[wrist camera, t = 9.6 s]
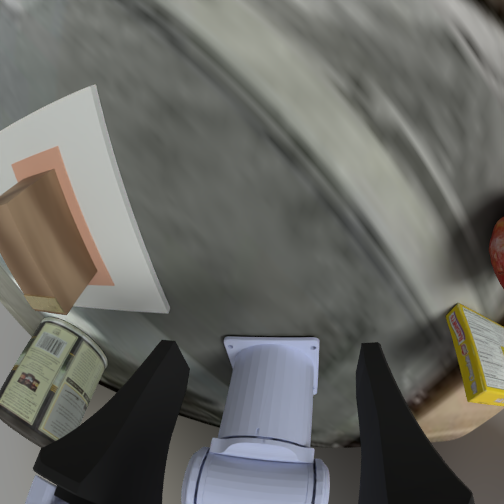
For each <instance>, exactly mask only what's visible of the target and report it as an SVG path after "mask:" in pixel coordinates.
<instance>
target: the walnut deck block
mask: <svg viewBox="0 0 504 504" xmlns="http://www.w3.org/2000/svg"><path fill="white" fill-rule="evenodd" d="M0 253H1V255H2V257H3V259H4V261H5V263H6V264H7V266H8V268H9V270H10V271H11V273H12V275H13V276H14V278H15V280H16V282H17V283H18V285H19V286H20V288H21V290H22V291H23V293H24V296H25V298H26V299H27V301H28V302H29V304H30V306H31V307H32V308H33V309H34V310H35V311H42V312H48V313H55V314H62V315H67V314H68V312H69V311H70V309H71V308H72V307H73V305H74V304H75V302H76V301H77V299H78V298H79V296H80V295H81V294H82V292H83V291H84V289H85V288H86V287H87V285H88V284H89V282H90V281H91V280H92V278H93V277H94V275H95V274H96V273H97V269H96V267H95V265H94V263H93V261H92V258H91V256H90V254H89V252H88V250H87V248H86V246H85V244H84V241H83V239H82V237H81V235H80V232H79V230H78V228H77V225H76V223H75V221H74V218H73V216H72V214H71V211H70V209H69V206H68V204H67V201H66V199H65V196H64V194H63V191H62V188H61V186H60V183H59V180H58V177H57V175H56V172H55V169H51V170H48V171H45V172H42V173H39V174H36V175H33V176H30V177H27V178H24V179H22V180H21V181H20V182H18V183H17V184H15V185H14V186H13V187H11V188H10V189H9V190H7V191H6V192H4V193H3V194H2V195H1V196H0Z"/></svg>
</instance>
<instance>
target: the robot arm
mask: <svg viewBox="0 0 504 504" xmlns="http://www.w3.org/2000/svg"><path fill="white" fill-rule="evenodd" d="M224 345H225V348H226V351H227V354H228V357H229V359H230V362H231V365H232V368H233V372H232V377H231V381H230V386H229V390H228V395H227V399H226V404H225V408H224V413H223V417H222V421H221V426H220V431H219V435H218V438H212V441H211V446H210V448H209V447H202V448H201V449H200V450H199V451H197V452H195V453H194V454H193V456H192V457H191V459H190V461H189V463H188V466H187V469H186V472H185V476H184V480H183V485H182V494H181V503H182V504H328V499H329V489H330V480H329V479H330V478H329V470H328V467H327V466H326V465H325V464H324V463H323V461H322V460H321V459H314V448H310V441H311V425H312V406H313V395H315V394H317V386H318V364H319V339H318V338H315V337H234V336H227V337H225V338H224ZM189 371H190V368H189V367H188V365H187V363H186V361H185V359H184V357H183V355H182V353H181V351H180V350H179V348H178V346H177V344H176V342H175V341H169V340H161V342H160V343H159V344H158V345H157V346H156V348H155V349H154V350H153V351H152V352H151V354H150V355H149V356H148V357H147V359H146V360H145V361H144V362H143V363H142V365H141V366H140V367H139V368H138V369H137V371H136V372H135V373H134V374H133V375H132V377H131V378H130V379H129V380H128V381H127V382H126V383H125V385H124V386H123V387H122V388H121V389H120V390H119V391H118V392H117V393H116V394H115V396H113V397H112V398H111V399H110V400H109V401H108V402H107V403H106V404H105V405H104V406H103V407H102V408H101V409H100V410H99V411H97V412H96V413H95V414H94V415H93V416H91V417H90V418H89V419H88V420H86V421H85V422H84V423H83V424H81V425H80V426H79V427H77V428H76V429H74V430H73V431H71V432H70V433H68V434H67V435H65V436H63V437H62V438H60V439H58V440H56V441H54V442H52V443H51V444H49V445H47V446H45V447H43V448H41V450H40V453H39V455H38V457H37V460H36V462H35V465H34V467H33V470H34V471H35V472H36V473H38V474H39V475H41V476H43V477H44V478H46V479H48V480H49V481H51V482H53V483H54V484H56V485H57V486H56V485H54V484H52V483H50V482H48V481H46V480H45V479H43V478H41V477H39V476H37V475H35V477H34V480H33V483H32V485H31V488H30V491H29V494H28V496H27V499H26V502H25V504H162V491H163V481H164V473H165V466H166V460H167V454H168V449H169V444H170V440H171V436H172V433H173V430H174V426H175V423H176V420H177V417H178V414H179V411H180V408H181V405H182V402H183V399H184V396H185V392H186V388H187V383H188V377H189ZM356 399H357V408H358V417H359V427H360V438H361V455H362V459H361V478H360V492H359V504H475V503H474V499H473V494H472V492H471V490H470V489H469V488H468V487H467V486H465V484H464V483H463V482H462V481H461V480H460V479H459V478H458V477H457V476H456V475H455V473H454V472H453V471H452V470H451V469H450V468H449V466H448V465H447V464H446V463H445V461H444V460H443V459H442V457H441V456H440V455H439V453H438V452H437V451H436V450H435V448H434V447H433V446H432V444H431V443H430V441H429V440H428V438H427V437H426V435H425V434H424V432H423V431H422V429H421V428H420V426H419V424H418V423H417V421H416V419H415V418H414V416H413V414H412V412H411V411H410V409H409V407H408V405H407V403H406V401H405V399H404V398H403V396H402V394H401V392H400V390H399V388H398V386H397V384H396V381H395V379H394V377H393V375H392V373H391V370H390V368H389V366H388V364H387V361H386V359H385V356H384V354H383V351H382V348H381V345H380V344H379V343H378V342H375V343H362V345H361V350H360V355H359V360H358V365H357V370H356Z"/></svg>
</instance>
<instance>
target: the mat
mask: <svg viewBox="0 0 504 504" xmlns="http://www.w3.org/2000/svg"><path fill="white" fill-rule="evenodd" d="M51 169H55V172H56V175H57V177H58V180H59V183H60V186H61V188H62V191H63V194H64V196H65V199H66V201H67V204H68V206H69V209H70V211H71V214H72V216H73V218H74V221H75V223H76V225H77V228H78V230H79V232H80V235H81V237H82V239H83V241H84V244H85V246H86V248H87V250H88V252H89V254H90V256H91V258H92V261H93V263H94V265H95V267H96V269H97V273H96V274H95V275H94V277H93V278H92V280H91V281H90V282H89V284H88V285H87V287H86V288H85V289H84V291H83V292H82V294H81V295H80V296H79V298H78V299H77V301H76V302H75V304H74V305H73V306H76V307H87V308H97V309H109V310H122V311H136V312H151V313H169V310H170V306H169V304H168V301H167V299H166V297H165V294H164V292H163V290H162V287H161V285H160V282H159V280H158V278H157V275H156V273H155V270H154V268H153V265H152V263H151V260H150V257H149V255H148V252H147V250H146V247H145V244H144V242H143V239H142V236H141V234H140V231H139V228H138V225H137V223H136V220H135V217H134V214H133V211H132V208H131V205H130V202H129V200H128V197H127V194H126V190H125V187H124V184H123V181H122V178H121V175H120V172H119V168H118V165H117V162H116V159H115V155H114V152H113V148H112V145H111V141H110V138H109V134H108V131H107V127H106V123H105V119H104V115H103V112H102V108H101V104H100V99H99V95H98V91H97V87H96V85H92V86H89V87H87V88H84V89H82V90H80V91H77V92H75V93H73V94H70V95H68V96H66V97H64V98H61V99H59V100H57V101H55V102H53V103H51V104H49V105H47V106H45V107H43V108H41V109H39V110H37V111H35V112H33V113H31V114H29V115H27V116H26V117H24V118H22V119H20V120H18V121H17V122H15V123H13V124H11V125H10V126H8V127H6V128H5V129H3V130H1V131H0V196H1V195H2V194H3V193H4V192H6V191H7V190H9V189H10V188H11V187H13V186H14V185H15V184H17V183H18V182H20V181H21V180H22V179H24V178H27V177H30V176H33V175H36V174H39V173H42V172H45V171H48V170H51Z"/></svg>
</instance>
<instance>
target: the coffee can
mask: <svg viewBox="0 0 504 504" xmlns="http://www.w3.org/2000/svg"><path fill="white" fill-rule="evenodd" d="M107 365H108V363H107V358H106V356H105V354H104V353H103V351H102V350H101V348H100V347H99V346H98V345H97V344H96V343H95V342H94V341H93V340H92V339H91V338H90V337H89V336H87V335H86V334H85V333H84V332H82V331H81V330H80V329H78V328H76V327H75V326H73V325H71V324H69V323H67V322H66V321H63V320H61V319H58V318H54V317H47V318H44V319H43V320H42V322H41V324H40V325H39V327H38V329H37V330H36V332H35V333H34V335H33V336H32V338H31V339H30V341H29V342H28V344H27V346H26V347H25V349H24V350H23V352H22V354H21V355H20V357H19V359H18V360H17V362H16V363H15V365H14V367H13V369H12V370H11V372H10V374H9V375H8V377H7V379H6V381H5V382H4V384H3V386H2V388H1V390H0V419H1V420H2V421H3V422H4V423H6V424H7V425H8V426H10V427H11V428H12V429H13V430H15V431H17V432H18V433H19V434H21V435H22V436H23V437H25V438H27V439H28V440H30V441H31V442H33V443H34V444H36V445H38V446H39V447H41V448H43V447H45V446H47V445H49V444H51V443H52V442H54V441H56V440H58V439H60V438H62V437H63V436H65V435H67V434H68V433H70V432H71V431H73V430H74V429H76V428H77V427H79V425H80V423H81V421H82V418H83V416H84V413H85V411H86V409H87V407H88V404H89V402H90V400H91V398H92V396H93V393H94V391H95V389H96V386H97V384H98V382H99V380H100V378H101V376H102V374H103V372H104V370H105V368H106V367H107Z"/></svg>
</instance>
